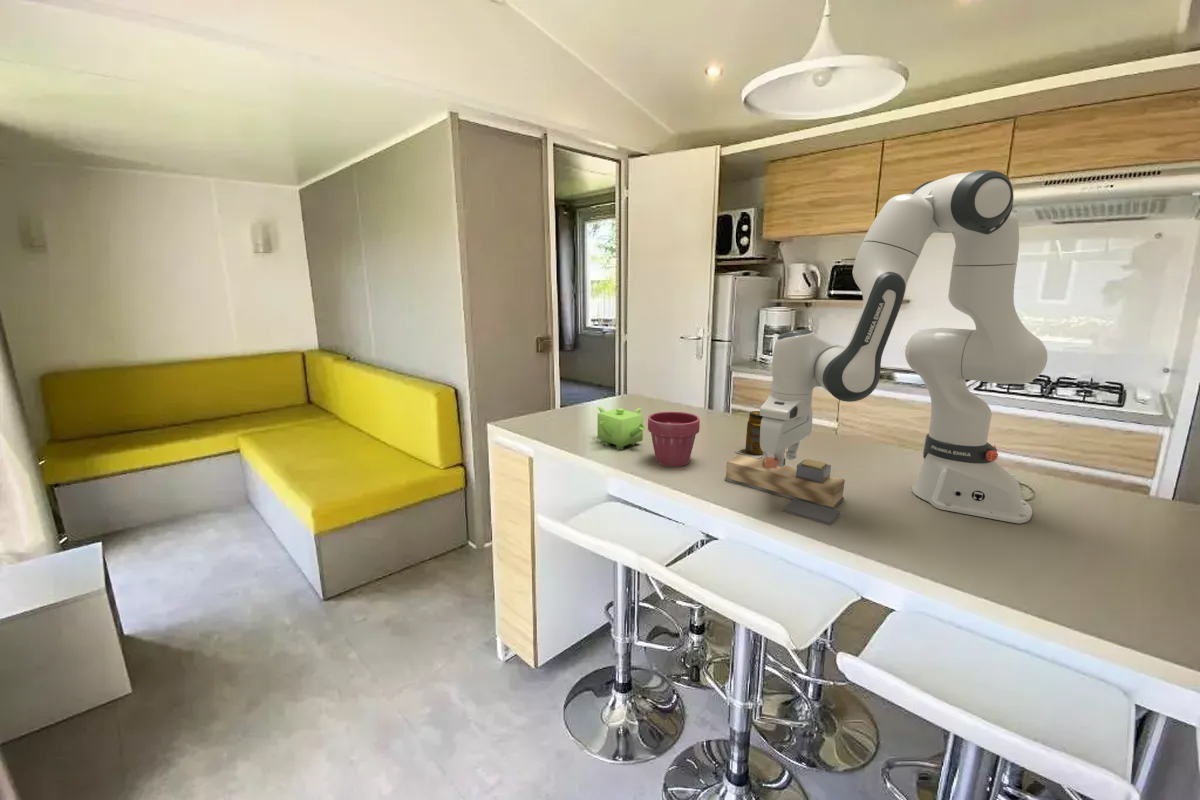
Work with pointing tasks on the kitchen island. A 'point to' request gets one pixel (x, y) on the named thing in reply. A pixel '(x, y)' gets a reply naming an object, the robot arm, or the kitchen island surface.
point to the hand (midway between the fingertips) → (785, 462)
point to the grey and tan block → (813, 471)
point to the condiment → (753, 436)
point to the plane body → (784, 482)
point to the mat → (812, 511)
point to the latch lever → (769, 460)
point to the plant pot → (673, 436)
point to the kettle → (620, 427)
